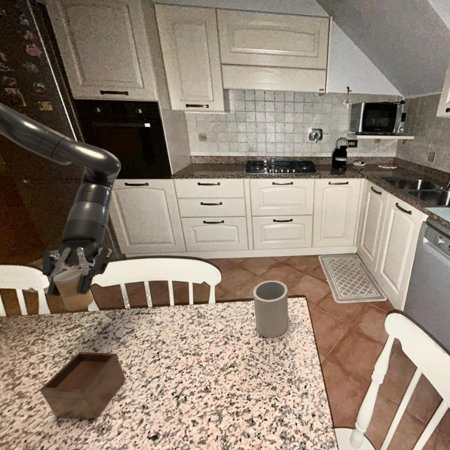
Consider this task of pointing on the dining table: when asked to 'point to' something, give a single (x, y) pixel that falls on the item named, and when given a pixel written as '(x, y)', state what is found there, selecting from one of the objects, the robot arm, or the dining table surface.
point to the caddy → (84, 385)
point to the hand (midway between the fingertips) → (68, 294)
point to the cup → (271, 308)
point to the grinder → (72, 290)
